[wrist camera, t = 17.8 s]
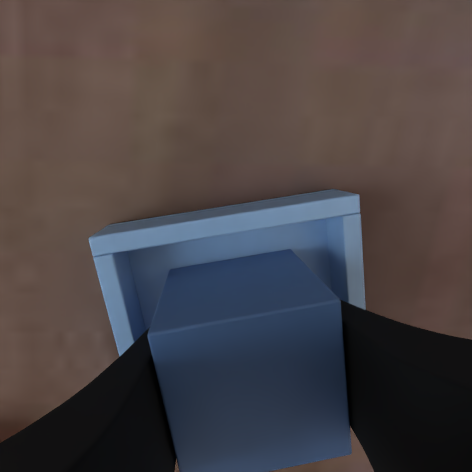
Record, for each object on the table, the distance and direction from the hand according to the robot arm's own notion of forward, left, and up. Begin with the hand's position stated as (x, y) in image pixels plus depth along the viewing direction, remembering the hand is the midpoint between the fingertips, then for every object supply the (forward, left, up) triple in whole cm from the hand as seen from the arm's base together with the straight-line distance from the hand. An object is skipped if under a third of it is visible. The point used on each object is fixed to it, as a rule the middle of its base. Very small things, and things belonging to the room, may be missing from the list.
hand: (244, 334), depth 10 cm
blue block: (0, 0, -1) cm, 1 cm away
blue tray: (0, 0, -2) cm, 2 cm away
